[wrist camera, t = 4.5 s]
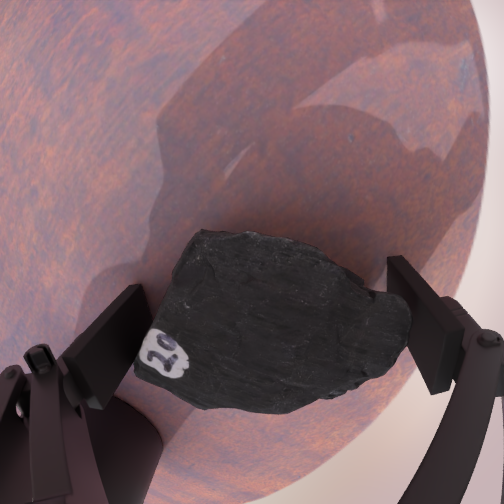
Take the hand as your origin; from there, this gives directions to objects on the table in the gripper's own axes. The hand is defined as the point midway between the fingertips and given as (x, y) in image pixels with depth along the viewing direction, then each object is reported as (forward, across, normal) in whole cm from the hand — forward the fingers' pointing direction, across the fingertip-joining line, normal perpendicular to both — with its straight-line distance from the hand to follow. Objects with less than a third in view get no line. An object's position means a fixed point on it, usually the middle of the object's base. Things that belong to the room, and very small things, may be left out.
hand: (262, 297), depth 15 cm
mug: (0, -14, -10) cm, 17 cm away
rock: (0, 0, 0) cm, 0 cm away
